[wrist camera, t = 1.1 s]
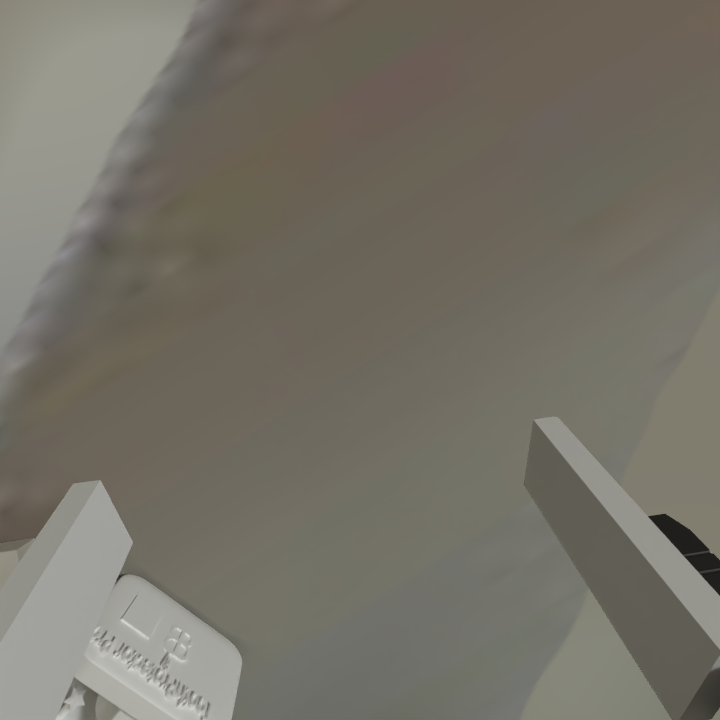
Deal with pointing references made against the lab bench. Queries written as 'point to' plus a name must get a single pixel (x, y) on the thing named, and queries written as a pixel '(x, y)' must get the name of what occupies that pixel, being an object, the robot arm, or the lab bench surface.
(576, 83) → the lab bench surface
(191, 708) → the cable organizer
